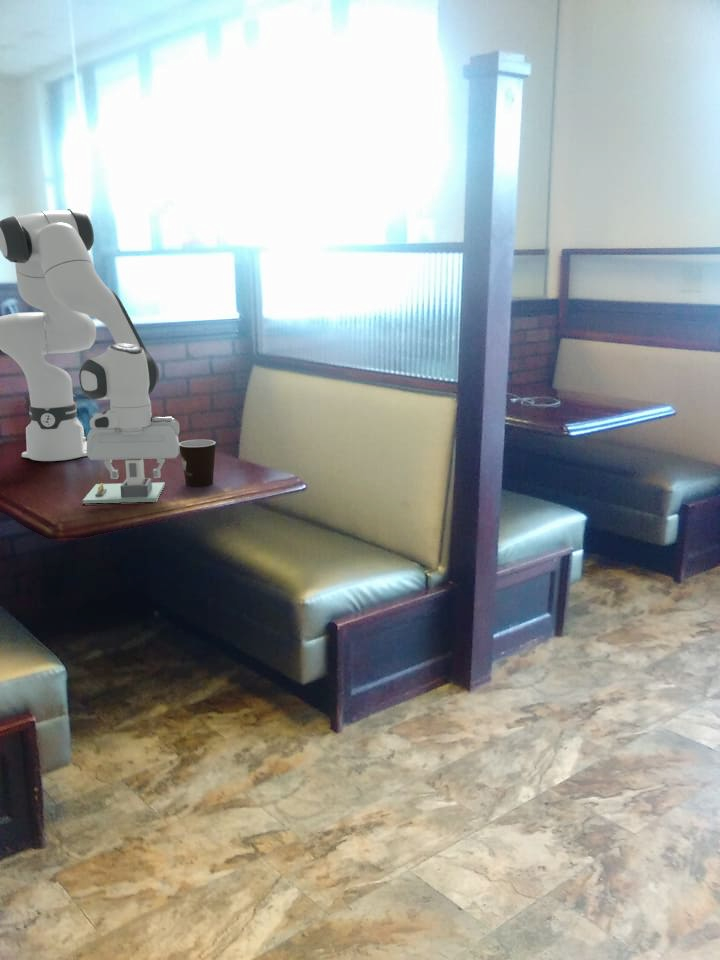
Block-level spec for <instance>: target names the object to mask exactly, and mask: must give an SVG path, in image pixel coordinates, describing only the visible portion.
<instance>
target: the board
mask: <svg viewBox="0 0 720 960" xmlns="http://www.w3.org/2000/svg"><path fill="white" fill-rule="evenodd" d="M152 478H153V477H148V478H147V477H146V478H145V485H134V486H127V478H125V479H124V481H123V482H121V483H102V482H101V483H96V484H95V485H94V486H93V487H92V489H91V490H90V491H89V492H88V493H87V494H86V496H85V497H84V498H83V499H82V504H83V503H112V502H113V503H119V502H153V503H154V502H156V503H157V502H158V500H159V499H158V498H160V497H159V496H161V495H160V494H162V493H163V491H164V489H165V487H166V482H163V481H162V482H153V481H152V480H153V479H152ZM164 486H165V487H164ZM163 488H164V489H163ZM162 490H163V491H162ZM161 492H162V493H161ZM153 503H152V504H153Z"/></svg>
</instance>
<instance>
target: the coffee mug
mask: <svg viewBox="0 0 720 960" xmlns="http://www.w3.org/2000/svg"><path fill="white" fill-rule="evenodd" d="M216 445H217V444H216V441H214V440H212V439H189V440H184V441H181V442H179V446H180V453H179V454H180V457H181V458H180V459H181V464H182V469H183V475H184V480H185V485H186V487H189V486H190V487H189V488H205V487H210V486H212V485H213V484H214V472H215V457H216Z"/></svg>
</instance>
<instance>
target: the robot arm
mask: <svg viewBox="0 0 720 960" xmlns="http://www.w3.org/2000/svg"><path fill="white" fill-rule="evenodd" d="M94 242H95V233H94V227H93V225H92V221H91V220H90V218H89V215H88V214H86V213H85V212H84V211H82V210H80V209H73V208H67V209H66V210H64V209H63V210H62V209H60V210H56V209H55V210H54V209H53V210H52V209H51V210H41V211H39V212H32V213H27V214H23V215H18V216H14V215H12V216H10V217H5V218H4V219H1V220H0V252H1V254H2V256H3V258H4V259H5V260H8V261H9V262H11V263H14V264H15V265H14V266H15V274H16V281H17V282H16V283H17V291H18V293H19V296H20V298H21V299H22V300H23V301H24V302H25V303H26V304H28V305H29V306H31V307H33V308H35V309H38V310H40V311H37V312H36V311H31V312H30V311H29V312H28V311H27V312H14V313H9V314H5V315H1V316H0V350H1V352H3V353H4V354H6V355H7V356H9V357H10V358H12V359H13V360H14V361H15V362H16V363H17V364H18V366H19V367H20V369H21V371H22V372H23V374H24V376H25V380H26V382H27V383H26V384H27V388H28V392H29V394H28V395H29V401H30V405H29V419H30V420H31V421H30V423H29V424H28V425H27V426H26V427H25V440H26V451H23V452H22V453H21V457H22V458H26V459H30V460H32V461H39V462H56V461H67V460H73V459H74V460H75V459H78V458H81V457H82V458H83V457H87V458H88V459H89V460H90V461H103V465H104V466H105V467H106V469H107V470H108V472H109V474H110V480H114V479H116V480H117V479H119V469H115V468H114V466H113V465H112V463H113V460H115V461H116V460H127V459H143V460H146V459H147V460H148V459H149V460H150V459H151V460H152V459H156V463H157V464H158V466H157V468H153V470H152V474H153V475H152V478H153V479H158V478H159V479H160V478H161V477H162V476H161V475H162V474H161V469H162V467H163V465H164V463H165V462H166V461H165V459H176V458H177V457H178V456H179V455H180V454H181V453H180V446H179V443H180V440H179V434H180V423H179V420H177V419H175V418H173V417H172V416H165V417H164V416H163V417H162V416H152V415H153V414H152V401H151V399H150V396H149V395H150V394H151V393H152V392H153V391H154V390H155V388H156V387H157V385H158V382H159V381H160V370H159V367H158V364H157V363H156V361H155V359H154V358H153V356H152V355H151V354H150V353H149V351H148V349H147V348H146V346H145V344H144V342H143V341H142V339H141V337H140V334H139V332H137V329H136V327H135V325H134V323H133V322H132V319H131V317H130V315H129V314H128V311H127V310H126V308H125V307H124V304H123V302H122V301H121V299H120V297H119V296H118V295H117V293H116V292H114V291H113V290H112V289H110V288H109V287H108V286H107V284H105V283H104V281H102V279H101V277H100V276H99V274H98V273H97V271H96V269H95V267H94V263H93V261H92V259H91V256H90V254H89V251H90V250H91V249H92V247H93V245H94V244H95V243H94ZM92 318H95V319H97V320H98V321H100V322H101V323H102V324H104V325H105V326H106V328H107V329H108V331H109V332H110V334H111V336H112V338H113V341H114V342H115V343H113V344H110V345H109V346H108V347H107V348H106V351H105V352H103V353H102V354H100V355H97V356H95V357H92V358H90V359H89V358H88V359H86V360H84V362H83V364H82V365H81V367H80V370H79V374H78V375H79V378H78V379H79V384H80V388H81V391H83V393H84V394H85V395H86V396H88V397H89V398H90V399H91V400H92V399H93V400H98V401H99V400H100V401H103V400H109V402H110V403H109V408H110V409H108V410H106V411H103V412H101V413H97V414H95V415H93V416H92V417H91V418H90V420H89V427H90V430H89V432H88V434H87V437H86V436H85V430H84V426H83V424H82V423H81V421H80V420H79V418H78V417H77V416H78V409H77V403H76V402H74V393H73V392H74V391H73V380H72V377H71V375H70V374H69V373H68V371H66V370H64V369H63V368H60V367H58V366H56V365H53V364H51V363H49V362H48V361H47V360H46V359H45V356H46V355H48V354H50V355H51V354H69V353H70V354H73V353H78V352H82V351H86V350H89V349H91V348H92V346H93V345H94V344H95V341H96V339H97V328H96V325H95V324H96V323H94V320H93V319H92Z"/></svg>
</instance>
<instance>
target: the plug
mask: <svg viewBox="0 0 720 960" xmlns="http://www.w3.org/2000/svg"><path fill="white" fill-rule="evenodd" d="M144 462H145V461H144V459H125V464H124V465H125V473H126V477H125V478H126V479H127V486H134V485H145V465H144Z"/></svg>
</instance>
